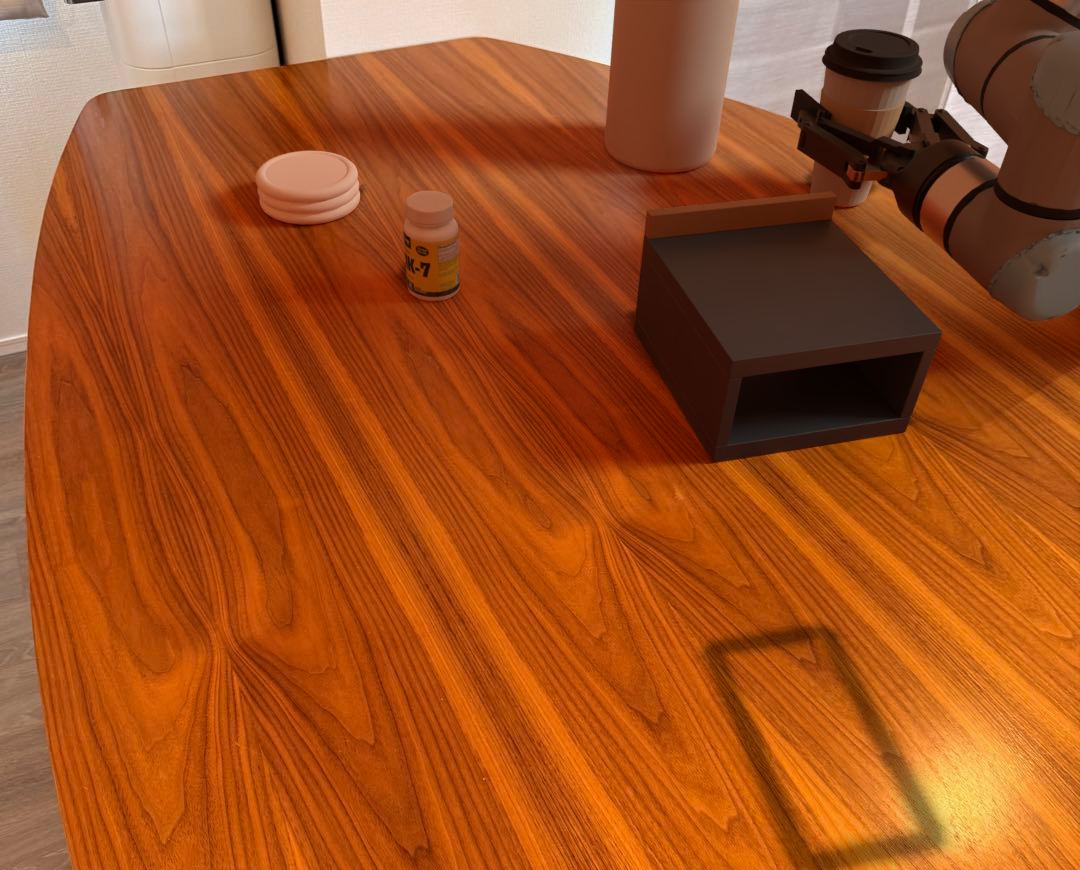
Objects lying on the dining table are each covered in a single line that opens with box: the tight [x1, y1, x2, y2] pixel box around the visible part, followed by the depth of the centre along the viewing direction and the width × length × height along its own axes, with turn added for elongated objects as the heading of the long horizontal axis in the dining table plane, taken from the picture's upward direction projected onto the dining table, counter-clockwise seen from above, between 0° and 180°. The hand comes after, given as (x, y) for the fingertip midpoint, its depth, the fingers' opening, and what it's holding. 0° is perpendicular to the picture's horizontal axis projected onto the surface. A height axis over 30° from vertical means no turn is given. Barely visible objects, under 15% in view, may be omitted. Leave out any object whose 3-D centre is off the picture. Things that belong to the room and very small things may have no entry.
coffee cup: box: [810, 28, 924, 208], centre depth 98 cm, size 9×9×15 cm
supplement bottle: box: [402, 189, 461, 302], centre depth 85 cm, size 5×5×8 cm
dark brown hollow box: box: [633, 191, 944, 463], centre depth 75 cm, size 18×16×11 cm
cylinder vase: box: [604, 0, 740, 174], centre depth 101 cm, size 12×12×25 cm
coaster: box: [254, 150, 361, 226], centre depth 97 cm, size 10×10×4 cm
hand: (835, 99), depth 100 cm, fingers closed on coffee cup, 8 cm apart
